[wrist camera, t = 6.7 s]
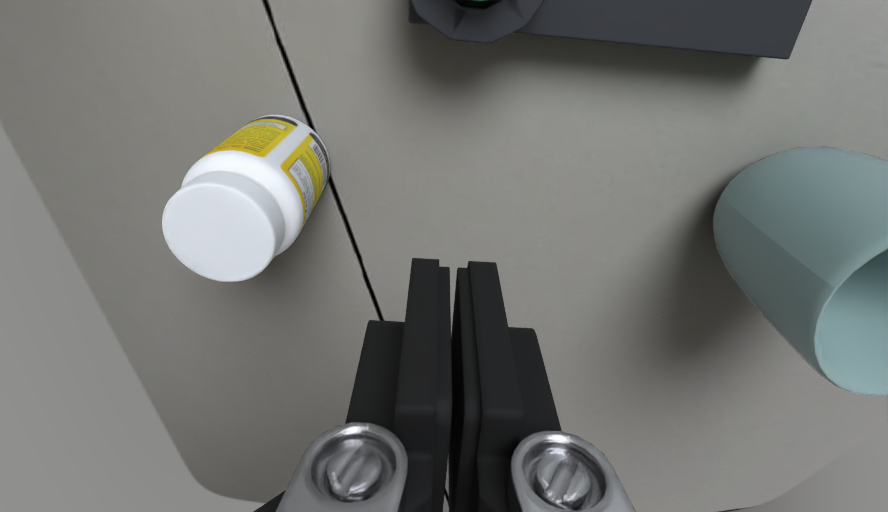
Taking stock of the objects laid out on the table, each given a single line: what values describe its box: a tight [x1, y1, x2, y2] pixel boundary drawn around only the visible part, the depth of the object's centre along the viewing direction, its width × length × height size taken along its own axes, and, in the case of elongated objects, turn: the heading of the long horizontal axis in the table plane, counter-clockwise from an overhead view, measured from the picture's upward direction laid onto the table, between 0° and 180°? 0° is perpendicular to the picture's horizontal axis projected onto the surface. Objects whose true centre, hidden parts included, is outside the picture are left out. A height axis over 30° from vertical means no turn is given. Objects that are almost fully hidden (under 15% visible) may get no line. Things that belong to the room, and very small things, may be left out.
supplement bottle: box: [162, 115, 330, 282], centre depth 21 cm, size 5×5×8 cm
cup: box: [713, 146, 888, 395], centre depth 22 cm, size 8×8×10 cm
